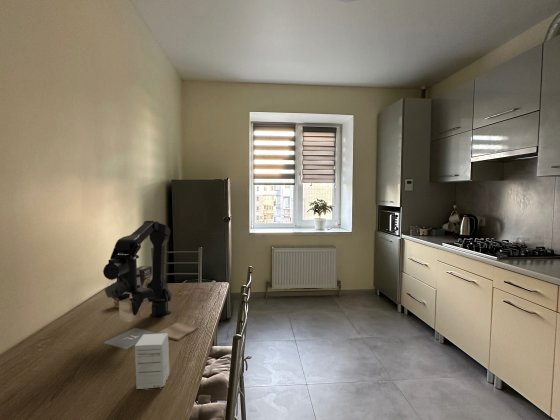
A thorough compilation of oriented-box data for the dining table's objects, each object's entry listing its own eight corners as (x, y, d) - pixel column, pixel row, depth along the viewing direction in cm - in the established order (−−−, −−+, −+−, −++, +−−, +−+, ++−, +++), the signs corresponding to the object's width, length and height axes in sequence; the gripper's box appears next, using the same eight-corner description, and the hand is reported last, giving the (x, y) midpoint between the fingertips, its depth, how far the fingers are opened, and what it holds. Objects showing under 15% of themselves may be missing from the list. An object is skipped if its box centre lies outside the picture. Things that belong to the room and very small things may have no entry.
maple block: (131, 315, 123) (130, 297, 123) (140, 317, 121) (139, 299, 120) (119, 319, 118) (118, 301, 118) (129, 322, 116) (128, 303, 116)
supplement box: (144, 375, 95) (143, 333, 94) (170, 374, 96) (168, 332, 95) (135, 390, 88) (133, 345, 87) (163, 389, 88) (161, 344, 88)
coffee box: (142, 302, 160) (141, 270, 159) (131, 301, 161) (130, 269, 160) (153, 296, 169) (152, 265, 168) (142, 295, 170) (141, 265, 169)
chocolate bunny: (121, 303, 159) (121, 283, 158) (132, 305, 155) (131, 285, 154) (111, 306, 154) (110, 286, 153) (122, 309, 150) (121, 288, 149)
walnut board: (177, 324, 132) (177, 322, 132) (198, 329, 127) (198, 327, 127) (156, 335, 122) (156, 333, 122) (178, 340, 117) (178, 338, 117)
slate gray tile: (135, 328, 129) (135, 327, 129) (157, 334, 124) (157, 333, 124) (102, 343, 116) (102, 342, 116) (125, 350, 111) (125, 349, 111)
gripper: (91, 275, 116) (93, 317, 116) (127, 280, 107) (128, 326, 108) (118, 268, 126) (120, 307, 126) (153, 273, 117) (154, 315, 118)
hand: (130, 314), depth 120 cm, fingers closed on maple block, 5 cm apart
